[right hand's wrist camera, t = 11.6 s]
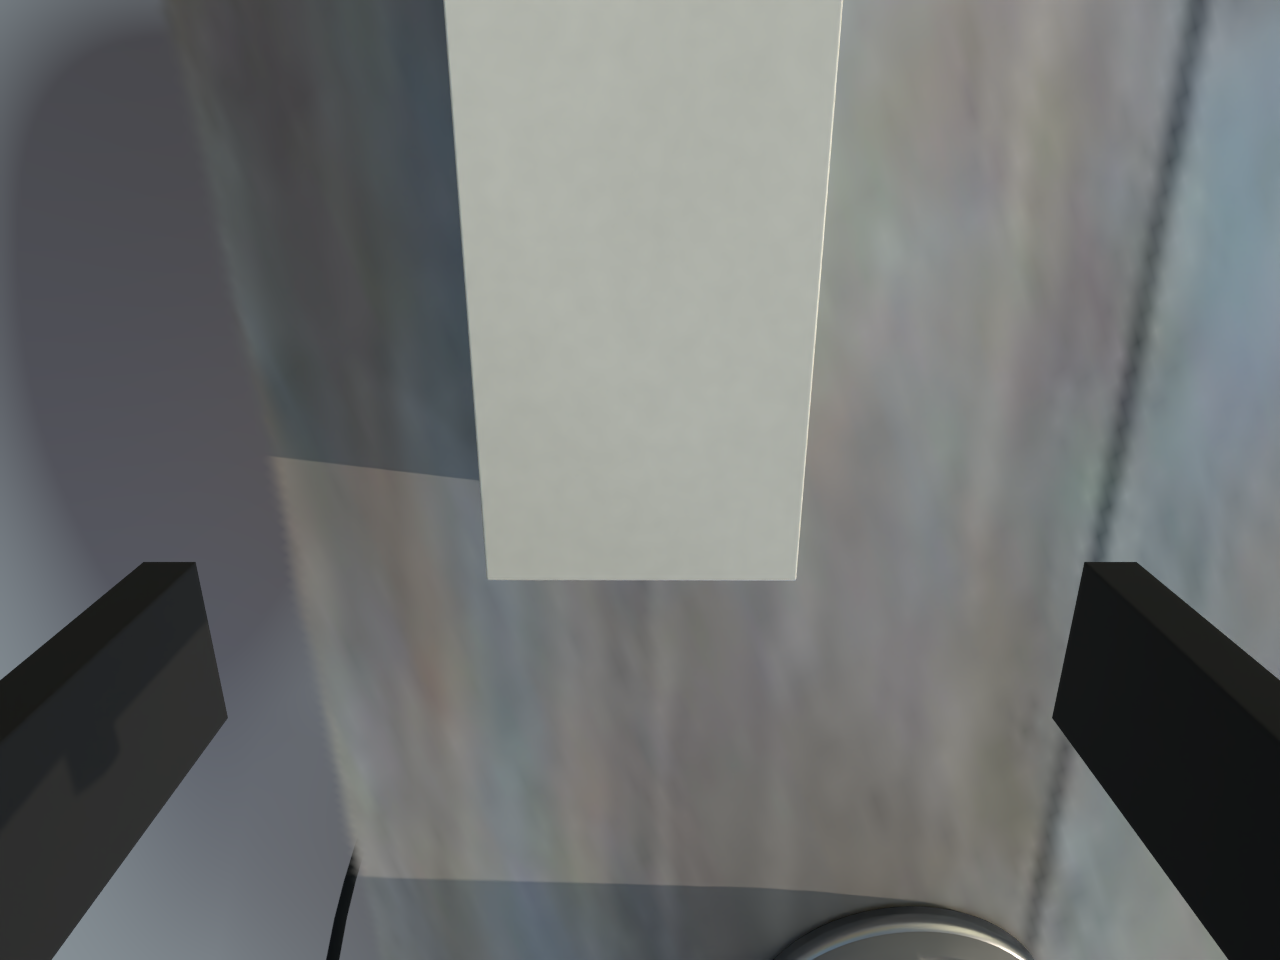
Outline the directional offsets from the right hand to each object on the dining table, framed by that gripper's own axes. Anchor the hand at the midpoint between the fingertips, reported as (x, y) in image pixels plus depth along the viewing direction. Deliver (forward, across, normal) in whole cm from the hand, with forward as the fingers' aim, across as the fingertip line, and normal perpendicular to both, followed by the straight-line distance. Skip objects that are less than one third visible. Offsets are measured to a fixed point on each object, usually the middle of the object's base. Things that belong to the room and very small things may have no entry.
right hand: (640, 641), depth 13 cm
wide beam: (+19, 0, -30) cm, 35 cm away
